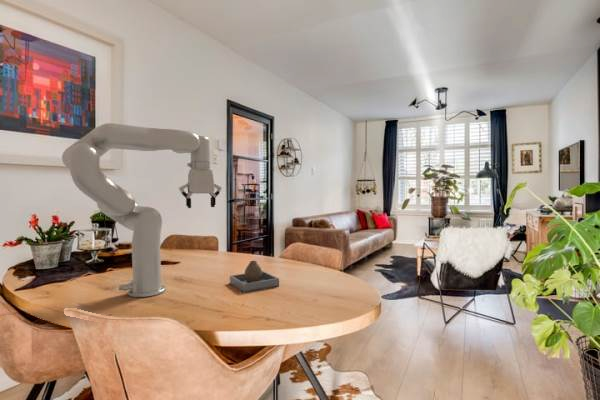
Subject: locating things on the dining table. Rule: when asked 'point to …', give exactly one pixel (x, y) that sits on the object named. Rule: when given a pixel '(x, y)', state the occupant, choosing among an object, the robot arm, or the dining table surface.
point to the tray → (265, 282)
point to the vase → (253, 272)
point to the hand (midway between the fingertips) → (201, 207)
